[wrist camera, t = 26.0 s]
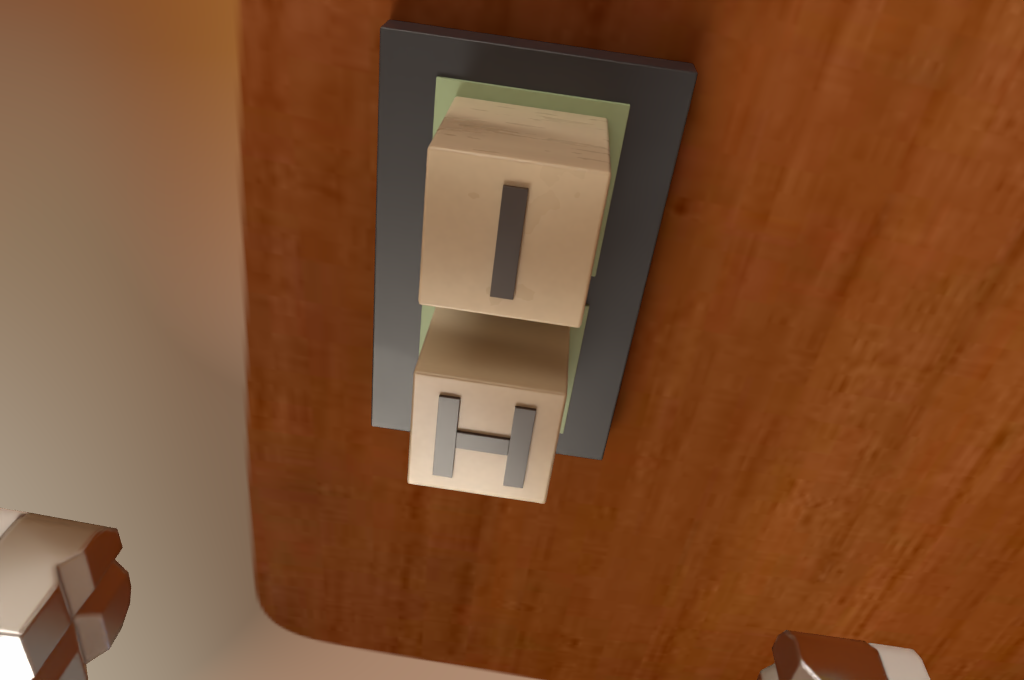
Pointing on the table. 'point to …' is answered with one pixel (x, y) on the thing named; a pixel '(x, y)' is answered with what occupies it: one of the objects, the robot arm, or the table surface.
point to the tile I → (513, 211)
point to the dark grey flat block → (627, 216)
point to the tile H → (488, 404)
